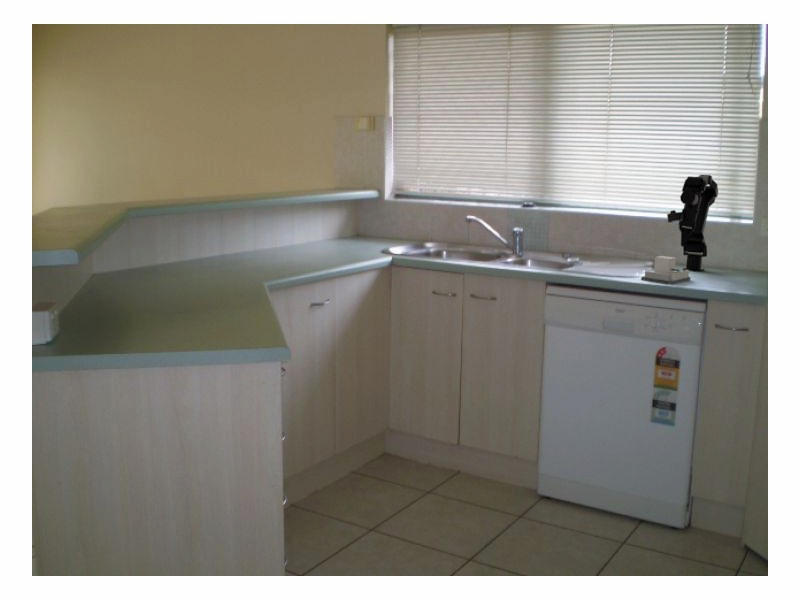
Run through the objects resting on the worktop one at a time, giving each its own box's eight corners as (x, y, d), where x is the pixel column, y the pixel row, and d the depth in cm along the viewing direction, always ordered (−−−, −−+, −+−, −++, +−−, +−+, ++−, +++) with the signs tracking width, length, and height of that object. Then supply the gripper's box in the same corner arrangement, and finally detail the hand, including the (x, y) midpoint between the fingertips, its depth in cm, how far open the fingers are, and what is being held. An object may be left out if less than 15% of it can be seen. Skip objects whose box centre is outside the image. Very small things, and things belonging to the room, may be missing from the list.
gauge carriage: (660, 274, 351) (661, 255, 350) (681, 277, 345) (682, 258, 344) (653, 276, 348) (655, 257, 346) (674, 279, 342) (676, 259, 340)
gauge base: (660, 275, 358) (660, 265, 358) (690, 280, 350) (691, 269, 349) (641, 279, 348) (641, 269, 348) (671, 284, 339) (672, 273, 339)
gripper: (671, 206, 369) (662, 243, 370) (670, 201, 352) (661, 240, 353) (699, 211, 366) (690, 248, 367) (699, 207, 348) (690, 246, 349)
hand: (682, 245), depth 359 cm, fingers open, 9 cm apart
